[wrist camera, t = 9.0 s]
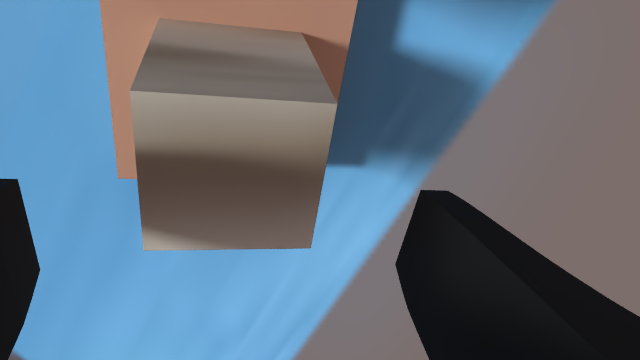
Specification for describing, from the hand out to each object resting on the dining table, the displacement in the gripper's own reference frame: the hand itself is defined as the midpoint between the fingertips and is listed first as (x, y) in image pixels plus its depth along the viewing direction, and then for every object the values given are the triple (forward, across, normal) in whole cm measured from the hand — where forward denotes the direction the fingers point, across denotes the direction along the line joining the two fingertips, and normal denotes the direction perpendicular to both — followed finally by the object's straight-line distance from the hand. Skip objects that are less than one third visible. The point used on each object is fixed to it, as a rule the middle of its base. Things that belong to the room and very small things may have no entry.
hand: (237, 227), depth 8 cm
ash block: (+7, 0, 0) cm, 7 cm away
